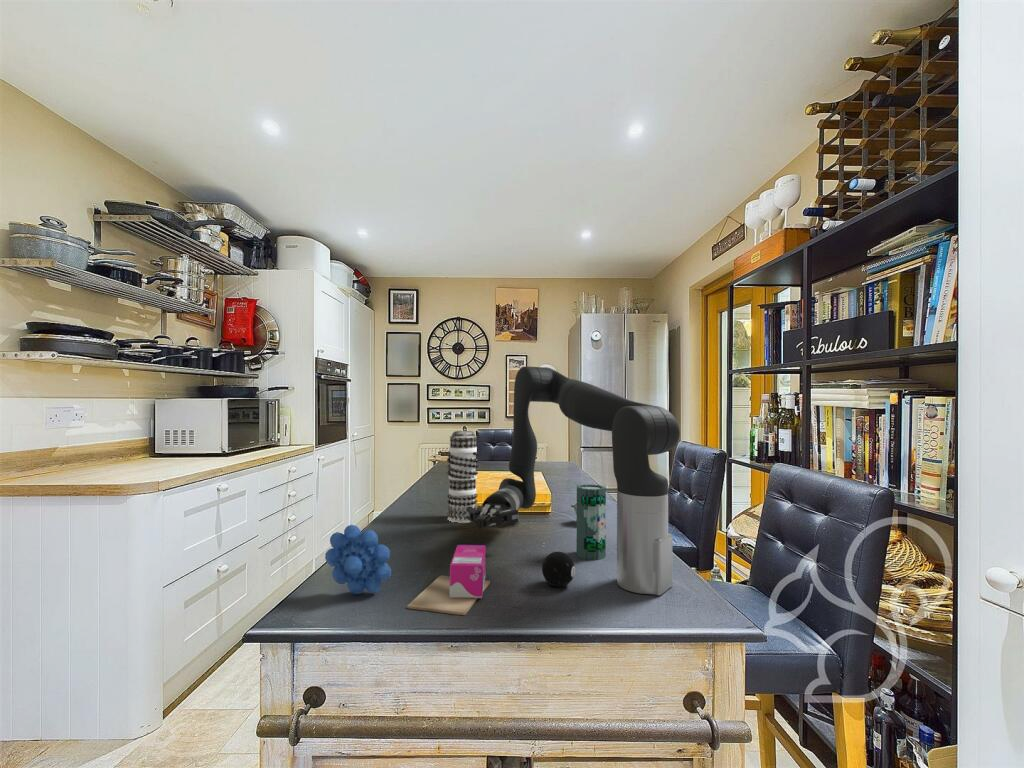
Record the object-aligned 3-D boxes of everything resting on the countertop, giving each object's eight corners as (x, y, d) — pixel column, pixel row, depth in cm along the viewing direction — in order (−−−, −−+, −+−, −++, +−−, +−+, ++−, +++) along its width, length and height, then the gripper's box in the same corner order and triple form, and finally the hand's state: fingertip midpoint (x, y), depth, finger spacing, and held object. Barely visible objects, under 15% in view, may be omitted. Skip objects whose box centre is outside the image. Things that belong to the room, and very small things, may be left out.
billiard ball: (549, 577, 93) (550, 545, 93) (579, 582, 90) (579, 550, 91) (536, 587, 88) (537, 554, 88) (567, 594, 85) (567, 559, 85)
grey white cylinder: (466, 513, 144) (467, 429, 144) (484, 519, 137) (485, 431, 137) (439, 518, 138) (441, 431, 139) (458, 525, 131) (459, 432, 132)
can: (592, 561, 102) (592, 490, 103) (571, 554, 107) (571, 486, 107) (610, 555, 106) (610, 487, 106) (589, 549, 111) (589, 483, 111)
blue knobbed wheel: (314, 604, 80) (315, 531, 80) (330, 588, 87) (331, 521, 87) (383, 605, 80) (385, 532, 80) (394, 589, 87) (395, 521, 87)
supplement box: (486, 574, 93) (482, 599, 82) (456, 573, 93) (447, 598, 82) (487, 544, 93) (482, 565, 82) (456, 543, 93) (447, 564, 82)
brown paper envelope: (440, 577, 92) (440, 575, 92) (490, 582, 90) (490, 580, 90) (406, 608, 79) (407, 605, 79) (464, 615, 76) (464, 612, 76)
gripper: (476, 489, 120) (451, 504, 103) (528, 492, 116) (511, 508, 100) (475, 519, 119) (450, 539, 103) (527, 523, 116) (510, 544, 99)
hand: (480, 524), depth 101 cm, fingers closed
